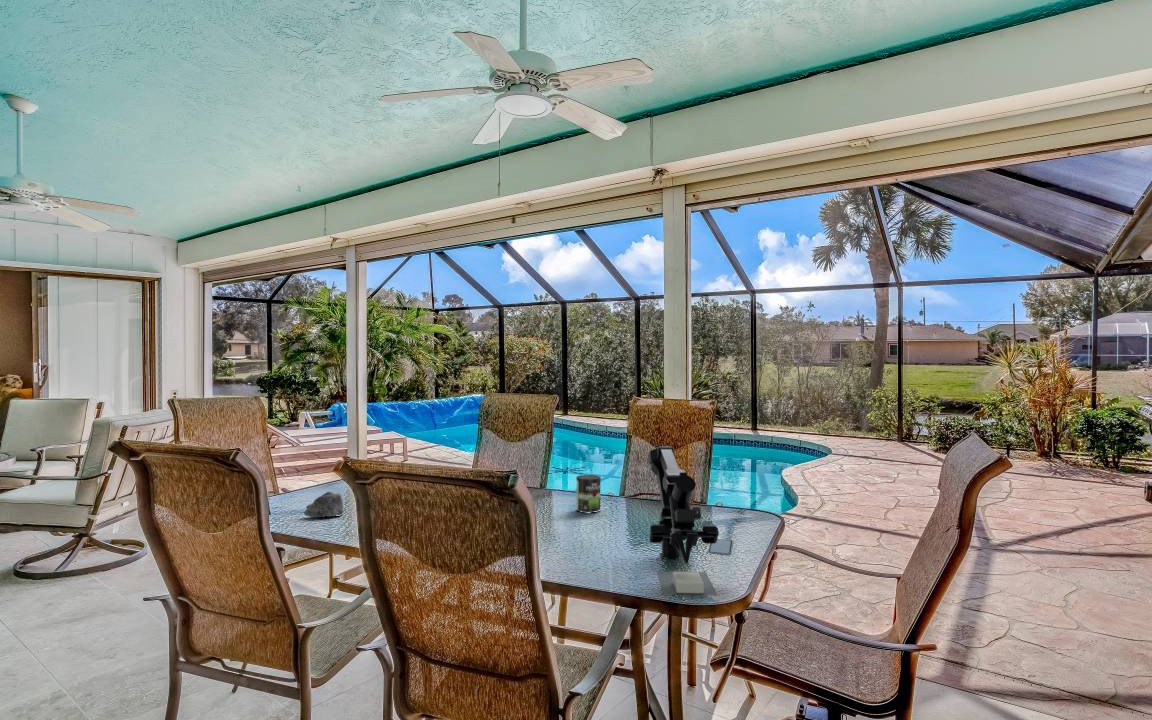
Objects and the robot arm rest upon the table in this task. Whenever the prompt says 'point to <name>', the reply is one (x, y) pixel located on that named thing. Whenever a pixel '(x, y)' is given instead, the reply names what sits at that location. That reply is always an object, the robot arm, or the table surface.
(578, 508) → the coffee can
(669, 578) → the mat
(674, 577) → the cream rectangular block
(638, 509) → the table surface
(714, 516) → the table surface
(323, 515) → the mineral rock
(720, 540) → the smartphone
